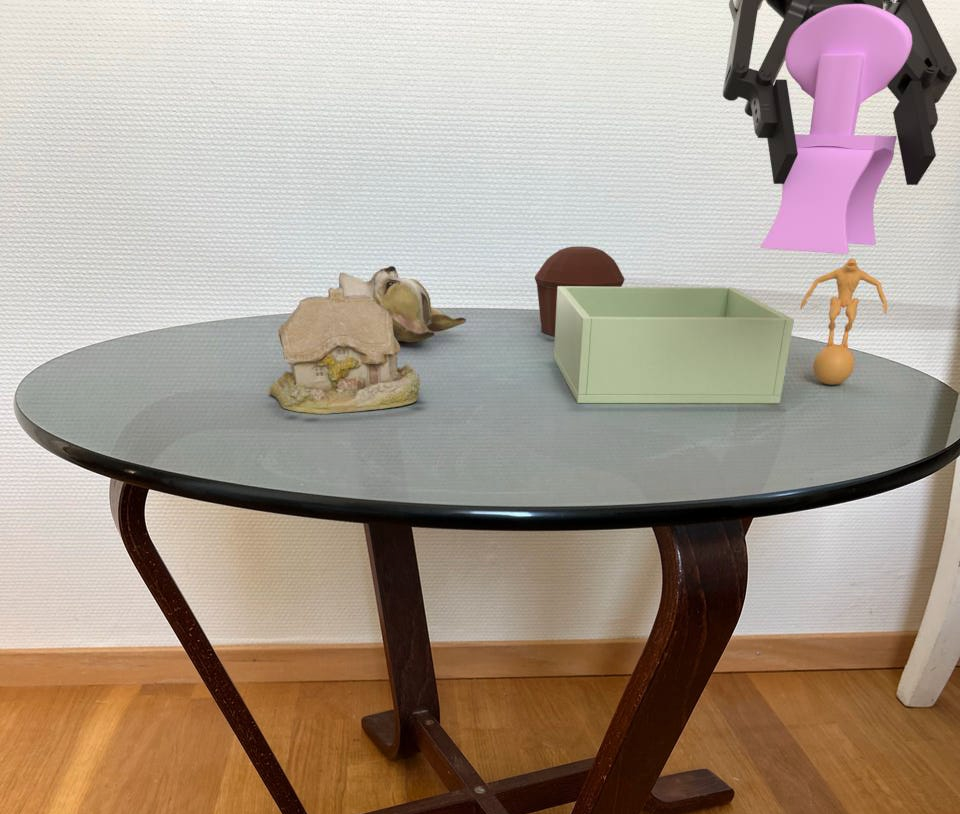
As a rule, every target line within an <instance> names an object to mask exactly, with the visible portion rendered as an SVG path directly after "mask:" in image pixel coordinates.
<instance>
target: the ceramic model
mask: <svg viewBox="0 0 960 814" xmlns="http://www.w3.org/2000/svg"><path fill="white" fill-rule="evenodd" d="M327 291H328V296H310V297H309V296H307V297H305V298H303V299H301V300H300V301H299V303H298V305H297V307H296V308H295V309H294V311H292V313H291V315H290V316H289V317H288V318H287V320H286V321H285V322H284V323H283V324H281V325H280V327H279V328H278V329H277V333H278V337H279V341H280V345H281V348H282V356H283V359H284V361H285V362H286V363H287V364H288V365H290V370H291V371H287V370H286V371H284V373H283V374H282V375H281V376H280V377H279V378H277V380H276V381H275V382H273V384H272V385H271V386H269V390H268V394H270V395H271V396H273V397H274V398H275V399H276V400H277V401H278V402H279V404H280V406H281V408H283V409H285V410H288V411H292V412H296V413H297V412H298V413H304V414H305V413H307V414H317V415H328V414H329V415H330V414H342V413H352V412H355V413H356V412H365V411H372V410H383V409H384V410H385V409H389V408H396V407H403V406H407V405H410V404H413V403H415V402H417V401H418V396H419V394H420V392H419V391H420V385H421V382H420V381H421V380H420V378H419V376H420V375H419V373H417V372H416V371H415V369H414V368H413V367H412V366H411V365H409V364H404V365H403V366H399V367H398V364H399V363H398V354H400V352H401V346H400V343H399V341H397V340H396V339H395V337H394V333H393V321H392V318H391V316H390V315H389V313H388V311H387V310H385V309H383V308H382V307H381V306H379V305H378V304H377V303H376V301H375V300H374V298H372V297H368V296H365V295H361V296H360V295H352V296H347V297H345V296H344V293H343V288H342V287H339V286H338V287H337V288H336V287H335V288H333V287H329V288H328V290H327Z"/></svg>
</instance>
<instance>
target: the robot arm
mask: <svg viewBox="0 0 960 814" xmlns="http://www.w3.org/2000/svg"><path fill="white" fill-rule="evenodd" d="M764 1H765V2H766V4H767V5H768V7H770V8H771V9H772V10H773V11H774V12H775V13H777V14H778V16H780V17H781V18H782V19H783V20H782V22H781V24H780V25H779V27H778V31H777V32H776V34H775V37H774V39H773V41H772V43H771V45H770V46H769V49H768V51H767V53H766V55H765V56H764V59H763V60H762V63H761V65H760V67H759V69H758V70H757V69H753V68H750V65H751V57H752V52H753V51H752V50H753V44H754V37H755V31H756V24H757V17H758V11H759V10H761V7H762V5H763V3H764ZM728 2H729V3H728V8H729V11H730V14H731V18H732V21H733V25H732V32H731V37H730V44H729V51H728V57H727V64H726V68H725V76H724V82H723V87H722V97H723V98H724V99H725V100H727V101H730V102H734V101H736V100H737V99H738V98H741V99H743V100H746V103H745V106H744V113H745V114H746V115H747V116H748V117H752V121H753V129H754V134H755V136H756V137H757V138H758V139H767V146H768V153H769V160H770V166H771V167H770V168H771V172H772V173H771V174H772V181H773V185H782V184H784V183H785V181H786V179H787V177H788V175H789V173H790V170H791V168H792V166H793V164H794V162H795V160H796V158H797V155H798V152H797V145H796V138H795V134H796V132H795V126H794V119H793V113H792V107H791V99H790V93H789V86H788V79H782V78H781V79H779V78H778V76H779V74H780V71H781V70H782V67H783V66H784V63H785V55H786V48H787V45H788V42H789V39H790V38H791V36H792V34H793V33H794V32H795V31H796V29H797V28H798V27H799V26H800V25H802V24H803V23H804V22H806V21H807V20H808V19H810V18H811V17H813V16H815V15H816V14H818V13H820V12H822V11H824V10H826V9H828V8H831V7H834V6H838V5H845V4H866V5H871V6H875V7H878V8H880V9H883V10H885V11H887V12H889V13H891V14H893V15H895V16H896V17H898V18H899V19H900V20H902V21H903V22H904V23H905V24H906V25H907V26H908V28H909V30H910V32H911V35H912V47H911V51H910V54H909V56H908V59H907V60H906V62H905V63H904V65H903V67H902V68H901V69H900V71H899V72H898V73H897V74H896V75H895V76H894V77H893V79H892V80H891V81H890V82H889V84H888V85H887V87H886V88H888V90H889V91H890V92H891V94H892V95H893V96H894V98H896V99H897V101H898V103H897V105H896V106H895V108H894V110H893V111H892V114H893V120H894V126H895V131H896V136H897V140H898V146H899V152H900V157H901V163H902V168H903V172H904V178H905V182H906V185H907V186H917V185H918V184H919V183H920V181H921V180H922V178H923V177H924V175H925V174H926V172H927V170H928V169H929V167H930V166H931V164H932V163H933V161H934V159H935V158H936V157H937V154H936V149H935V148H936V147H935V143H934V139H933V138H934V137H933V134H932V132H933V131H934V129H935V128H936V127H937V125H938V120H939V116H938V111H937V108H936V107H937V106H936V104H937V103H939V102H940V100H941V99H942V97H943V96H944V94H945V92H946V91H947V89H948V87H949V86H950V84H951V82H952V80H953V79H954V78H955V76H956V74H957V72H958V68H957V66H956V64H955V62H954V60H953V58H952V56H951V54H950V52H949V50H948V48H947V45H946V44H945V42H944V40H943V38H942V36H941V34H940V32H939V30H938V28H937V26H936V24H935V22H934V20H933V18H932V16H931V13H929V11H928V9H927V6H926V4H925V3H924V0H729V1H728ZM777 78H778V79H777Z"/></svg>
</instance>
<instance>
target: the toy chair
mask: <svg viewBox="0 0 960 814" xmlns="http://www.w3.org/2000/svg"><path fill="white" fill-rule="evenodd" d="M911 47H912V35H911V32H910V30H909V28H908V26H907V25H906V24H905V23H904V22H903V21H902V20H900V19H899V18H898V17H896V16H895V15H893V14H891V13H889V12H887V11H885V10H884V9H880V8H878V7H875V6H871V5H866V4H845V5H838V6H834V7H831V8H828V9H826V10H824V11H822V12H820V13H818V14H816V15H815V16H813V17H811V18H810V19H808V20H807V21H806V22H804V23H803V24H802V25H800V26H799V27H798V28H797V29H796V31H795V32H794V33H793V34H792V36H791V38H790V39H789V42H788V45H787V48H786V55H785V61H784V63H785V67H786V69H787V71H788V73H789V75H790V76H791V78H792V79H793V80H794V81H795V82H796V83H797V84H798V86H800V88H801V91H803V92H805V93H806V94H807V95H808V96H810V97H811V99H812V100H813V105H812V113H811V121H810V129H809V134H806V133H805V134H803V133H802V134H801V133H799V134H797V133H795V138H796V145H797V152H798V155H797V158H796V160H795V162H794V164H793V166H792V168H791V170H790V173H789V175H788V177H787V179H786V181H785V183H784V184H781V186H782V188H781V189H782V192H781V193H782V195H781V201H780V205H779V210H778V212H777V213H776V217H775V219H774V222H773V223H772V225H771V227H770V229H769V231H768V233H767V235H766V236H765V238H764V240H763V242H762V243H761V245H760V248H761V249H768V250H769V249H770V250H781V251H793V252H795V251H796V252H797V251H798V252H809V253H822V254H837V255H838V254H839V255H847V254H849V253H850V250H849V244H851V245H866V246H875V245H876V243H877V242H876V241H877V240H876V233H875V226H874V206H875V199H876V195H877V192H878V190H879V187H880V184H881V182H882V181H883V178H884V176H885V175H886V173H887V171H888V169H889V167H890V166H891V164H892V162H893V158H894V155H895V147H896V143H897V138H898V136H897V135H880V134H875V135H873V134H855V133H856V127H857V121H858V115H859V111H860V107H861V105H862V104H863V103H864V102H865V101H866V100H868V99H869V98H871V97H872V96H874V95H875V94H877V93H879V92H882V91H883V90H885V89H886V88H888V87H887V85H888V84H889V82H890V81H891V80H892V79H893V77H894V76H895V75H896V74H897V73H898V72H899V71H900V69H901V68H902V67H903V65H904V63H905V62H906V60H907V59H908V56H909V54H910V51H911Z"/></svg>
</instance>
